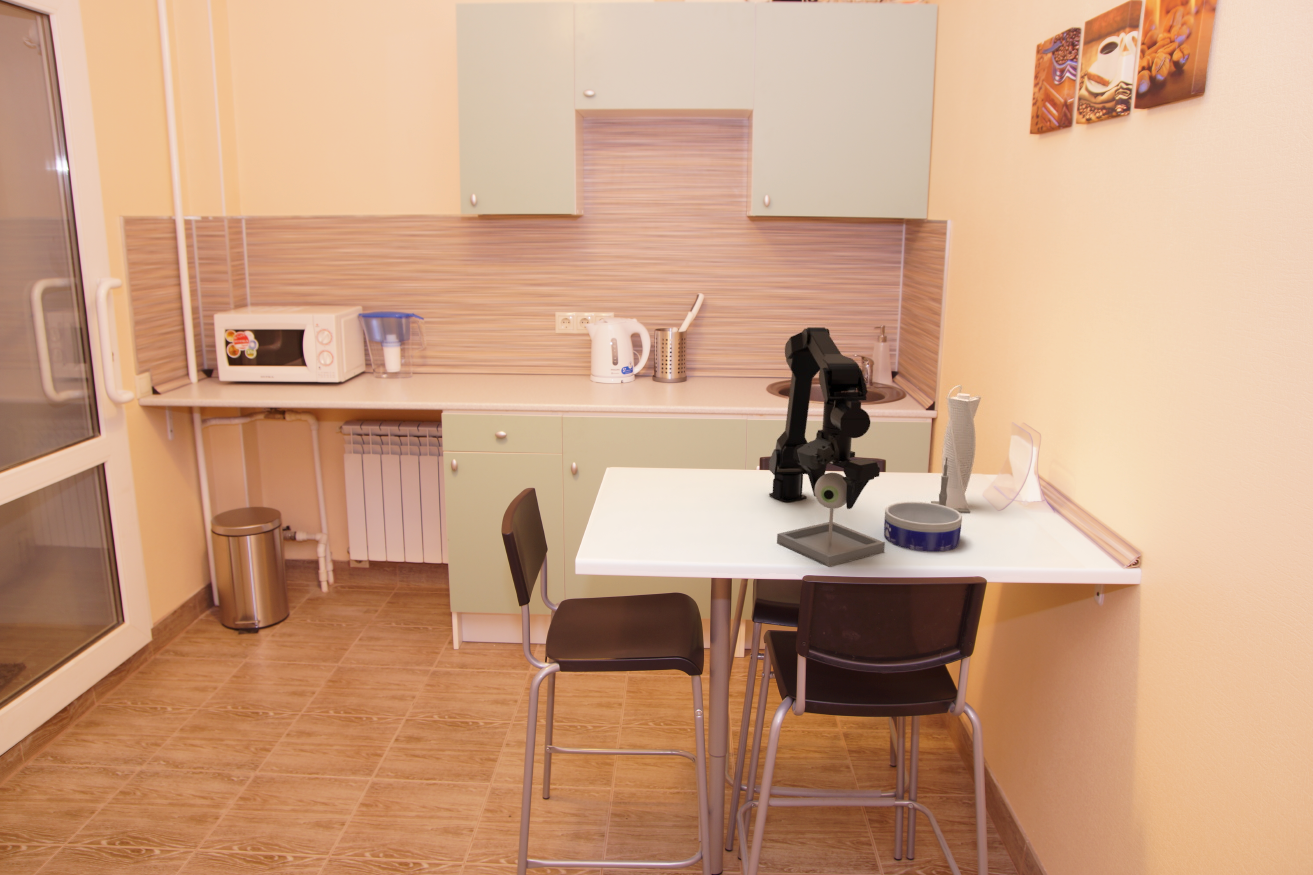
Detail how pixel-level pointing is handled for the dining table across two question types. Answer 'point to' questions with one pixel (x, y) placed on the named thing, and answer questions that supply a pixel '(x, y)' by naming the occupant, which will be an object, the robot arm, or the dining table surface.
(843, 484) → the lollipop
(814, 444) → the robot arm
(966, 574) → the dining table surface
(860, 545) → the tray
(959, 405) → the skyscraper
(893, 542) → the dog bowl
